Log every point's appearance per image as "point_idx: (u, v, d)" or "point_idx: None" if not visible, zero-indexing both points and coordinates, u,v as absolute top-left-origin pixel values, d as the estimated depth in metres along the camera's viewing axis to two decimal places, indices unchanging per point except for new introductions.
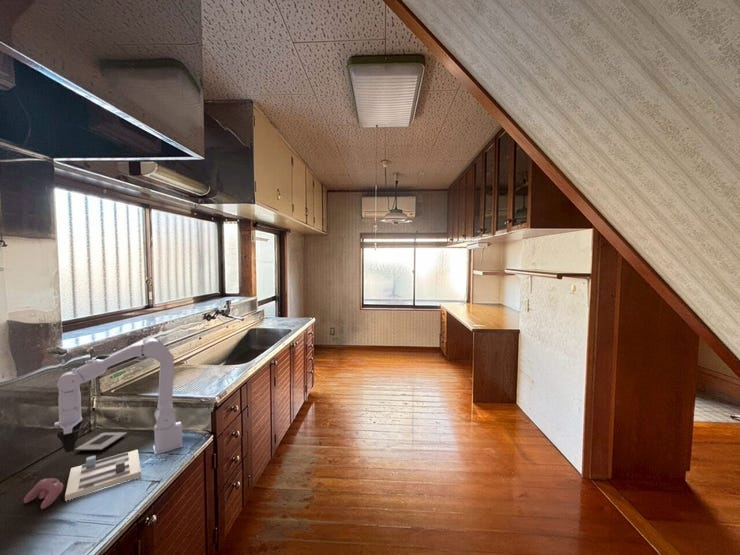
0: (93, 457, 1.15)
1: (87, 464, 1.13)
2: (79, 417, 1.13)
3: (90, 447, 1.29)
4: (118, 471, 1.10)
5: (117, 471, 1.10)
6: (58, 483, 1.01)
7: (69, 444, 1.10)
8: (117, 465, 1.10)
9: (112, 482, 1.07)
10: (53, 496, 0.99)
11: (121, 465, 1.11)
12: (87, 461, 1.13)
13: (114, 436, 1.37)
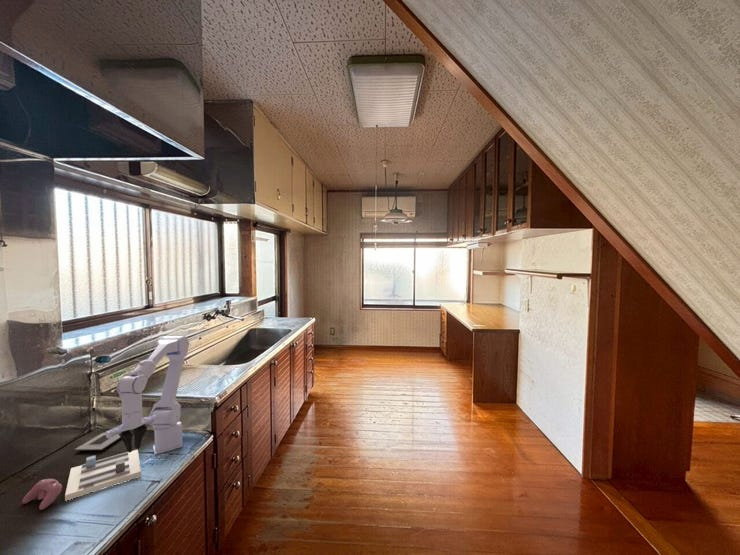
0: (93, 457, 1.15)
1: (87, 464, 1.13)
2: (131, 424, 1.11)
3: (90, 447, 1.29)
4: (118, 471, 1.10)
5: (117, 471, 1.10)
6: (57, 484, 1.01)
7: (127, 444, 1.12)
8: (117, 465, 1.10)
9: (112, 482, 1.07)
10: (52, 497, 0.99)
11: (121, 465, 1.11)
12: (87, 461, 1.13)
13: (114, 436, 1.37)
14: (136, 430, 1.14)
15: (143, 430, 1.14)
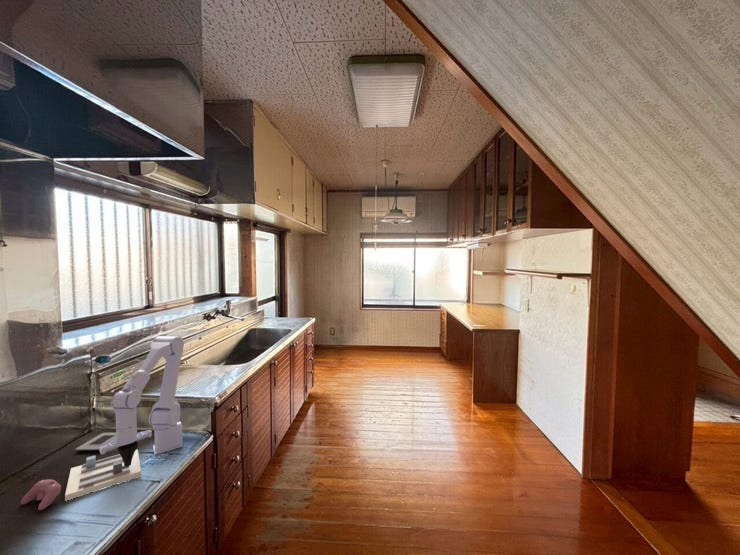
0: (93, 457, 1.15)
1: (87, 464, 1.13)
2: (124, 440, 1.10)
3: (90, 447, 1.29)
4: (116, 472, 1.10)
5: (115, 472, 1.10)
6: (56, 484, 1.01)
7: (124, 459, 1.12)
8: (115, 466, 1.10)
9: (112, 482, 1.07)
10: (51, 498, 0.98)
11: (119, 466, 1.10)
12: (87, 461, 1.13)
13: (114, 436, 1.37)
14: None
15: (134, 447, 1.12)
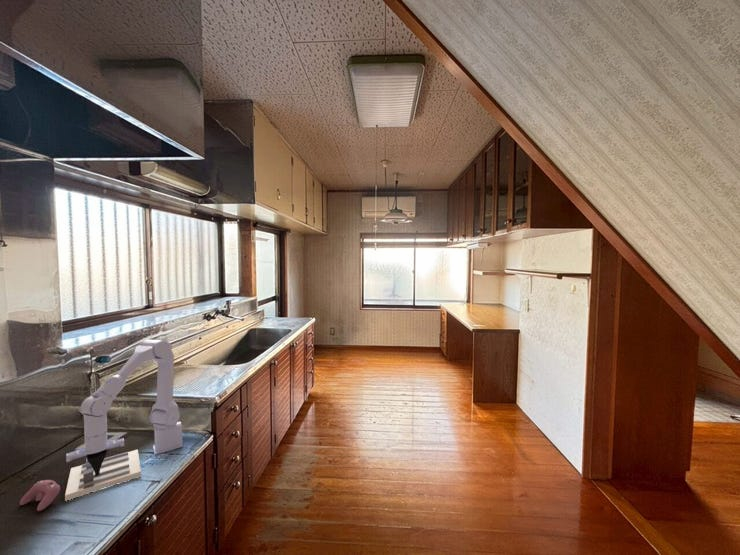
0: None
1: (87, 464, 1.13)
2: (90, 449, 1.05)
3: None
4: (86, 481, 1.05)
5: (85, 481, 1.05)
6: (55, 485, 1.00)
7: None
8: (85, 475, 1.05)
9: (112, 482, 1.07)
10: (50, 498, 0.98)
11: (89, 474, 1.06)
12: (87, 461, 1.13)
13: (114, 436, 1.37)
14: None
15: (101, 457, 1.06)
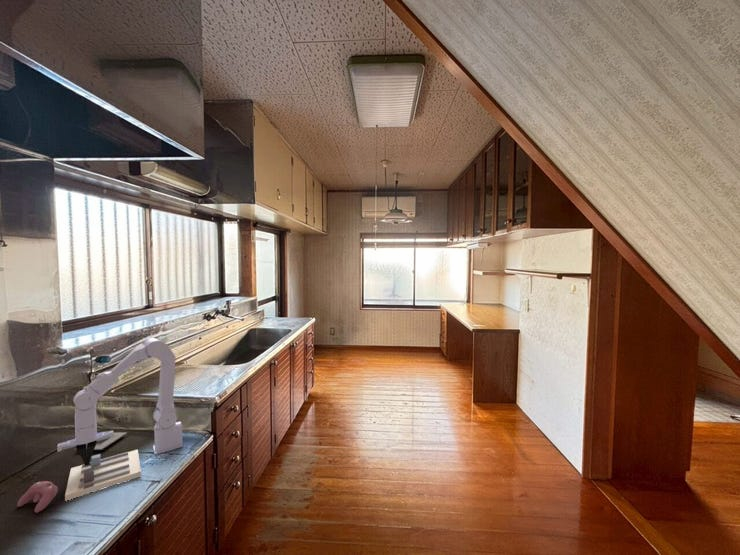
0: (98, 456, 1.15)
1: (92, 463, 1.14)
2: (80, 439, 1.11)
3: None
4: (86, 481, 1.05)
5: (85, 481, 1.05)
6: (52, 486, 1.00)
7: None
8: (85, 474, 1.05)
9: (112, 482, 1.07)
10: (48, 500, 0.98)
11: (90, 474, 1.06)
12: (92, 460, 1.14)
13: (114, 436, 1.37)
14: (87, 446, 1.14)
15: (90, 447, 1.12)
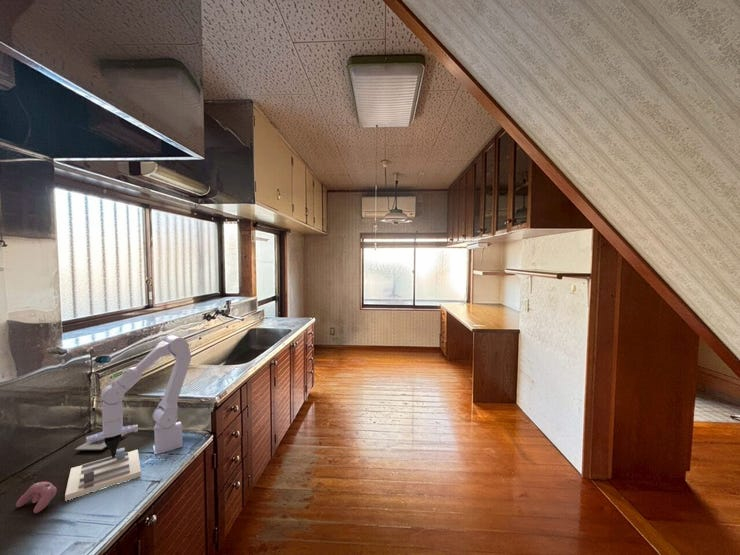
0: (122, 449, 1.20)
1: (117, 455, 1.18)
2: (107, 433, 1.15)
3: (90, 447, 1.29)
4: (86, 481, 1.05)
5: (85, 481, 1.05)
6: (51, 487, 1.00)
7: None
8: (85, 474, 1.05)
9: (112, 482, 1.07)
10: (47, 500, 0.97)
11: (90, 474, 1.06)
12: (117, 453, 1.18)
13: None
14: None
15: (116, 440, 1.17)
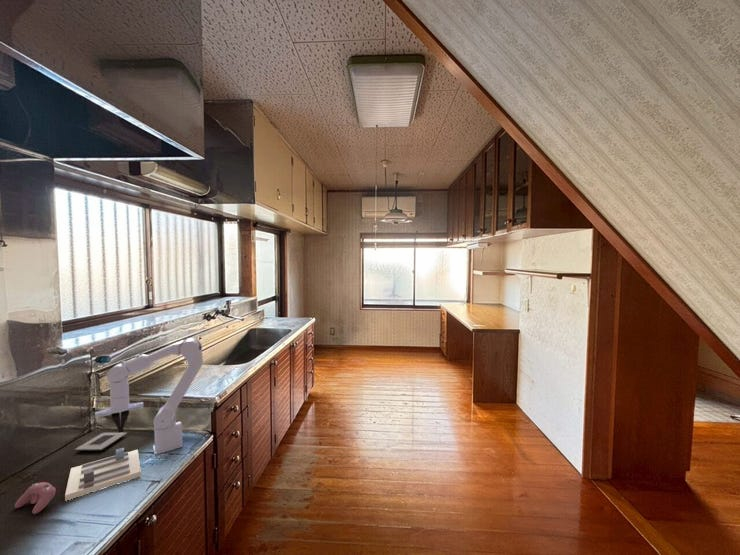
0: (122, 449, 1.19)
1: (116, 456, 1.18)
2: (115, 408, 1.22)
3: (90, 447, 1.29)
4: (86, 481, 1.05)
5: (85, 481, 1.05)
6: (50, 487, 0.99)
7: None
8: (85, 474, 1.05)
9: (112, 482, 1.07)
10: (46, 501, 0.97)
11: (90, 474, 1.06)
12: (117, 453, 1.18)
13: (114, 436, 1.37)
14: None
15: (124, 416, 1.24)
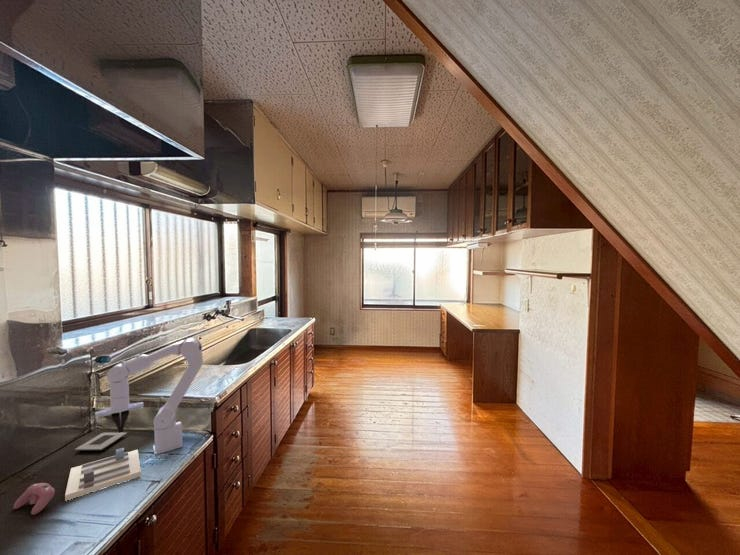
0: (122, 449, 1.19)
1: (116, 456, 1.18)
2: (115, 408, 1.22)
3: (90, 447, 1.29)
4: (86, 481, 1.05)
5: (85, 481, 1.05)
6: (49, 488, 0.99)
7: None
8: (85, 474, 1.05)
9: (112, 482, 1.07)
10: (45, 502, 0.97)
11: (90, 474, 1.06)
12: (117, 453, 1.18)
13: (114, 436, 1.37)
14: None
15: (124, 416, 1.24)
